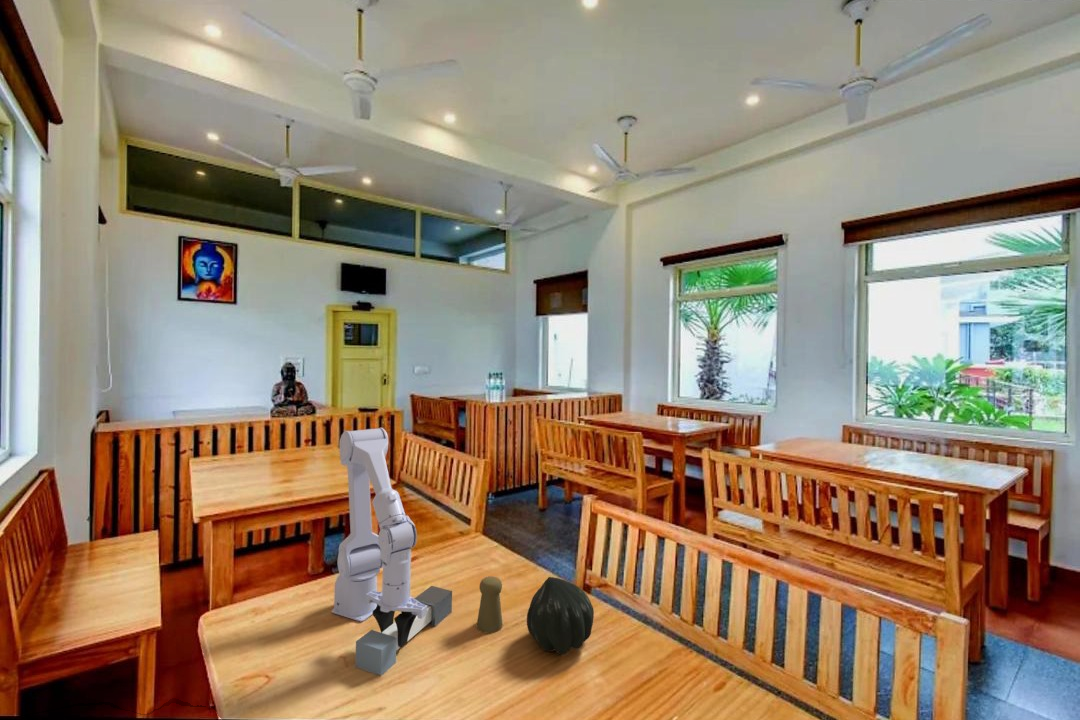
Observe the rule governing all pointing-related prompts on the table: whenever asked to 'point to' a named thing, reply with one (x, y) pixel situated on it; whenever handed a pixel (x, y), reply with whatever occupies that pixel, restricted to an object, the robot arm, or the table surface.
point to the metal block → (437, 603)
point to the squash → (560, 616)
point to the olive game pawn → (490, 605)
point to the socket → (376, 652)
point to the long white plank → (416, 625)
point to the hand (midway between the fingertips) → (395, 642)
